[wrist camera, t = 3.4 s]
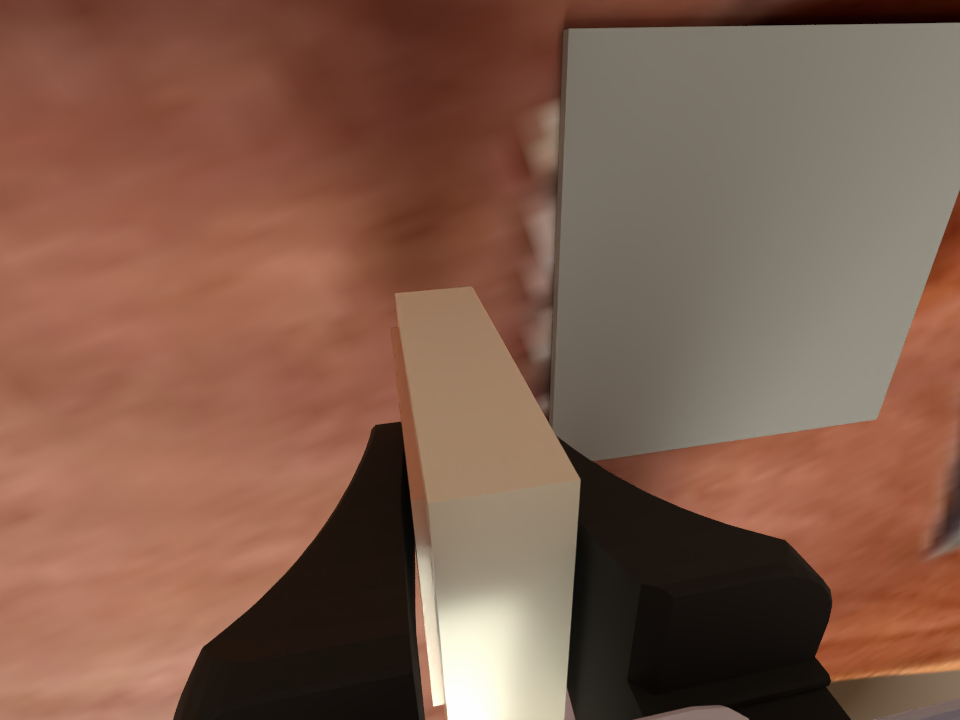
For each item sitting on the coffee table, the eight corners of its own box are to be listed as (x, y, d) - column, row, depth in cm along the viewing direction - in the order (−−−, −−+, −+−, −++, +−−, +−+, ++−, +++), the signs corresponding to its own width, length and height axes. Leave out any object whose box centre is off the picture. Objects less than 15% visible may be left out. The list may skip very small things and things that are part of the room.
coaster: (478, 471, 17) (562, 744, 10) (407, 481, 16) (440, 772, 9) (471, 286, 14) (581, 479, 7) (386, 294, 14) (412, 505, 7)
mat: (868, 413, 26) (876, 419, 26) (547, 460, 24) (551, 467, 23) (1004, 23, 19) (1020, 22, 18) (563, 30, 16) (568, 28, 16)
